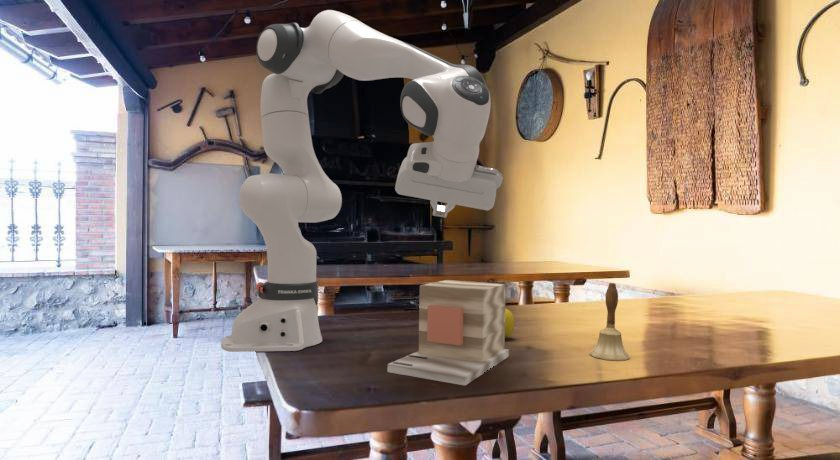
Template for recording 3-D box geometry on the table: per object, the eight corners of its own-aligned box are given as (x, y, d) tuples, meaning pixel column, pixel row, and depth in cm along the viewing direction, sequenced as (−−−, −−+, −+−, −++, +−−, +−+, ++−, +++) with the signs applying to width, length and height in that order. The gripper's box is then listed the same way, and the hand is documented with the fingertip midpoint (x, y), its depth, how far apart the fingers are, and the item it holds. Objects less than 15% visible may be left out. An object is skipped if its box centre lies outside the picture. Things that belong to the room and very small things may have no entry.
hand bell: (629, 353, 117) (630, 282, 117) (631, 362, 109) (632, 286, 109) (590, 350, 120) (591, 280, 120) (589, 358, 112) (590, 284, 112)
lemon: (513, 342, 126) (514, 309, 126) (490, 340, 127) (491, 308, 127) (514, 337, 132) (515, 305, 132) (492, 336, 133) (492, 304, 133)
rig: (465, 385, 92) (466, 297, 92) (387, 372, 99) (388, 290, 99) (508, 356, 113) (510, 284, 112) (441, 347, 120) (442, 279, 120)
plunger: (459, 345, 100) (460, 309, 100) (427, 341, 104) (427, 305, 104) (481, 334, 111) (482, 301, 111) (451, 330, 114) (452, 298, 114)
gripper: (505, 161, 103) (487, 213, 113) (403, 142, 103) (394, 196, 112) (506, 181, 99) (488, 233, 108) (399, 161, 98) (390, 215, 107)
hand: (439, 214), depth 110 cm, fingers closed
